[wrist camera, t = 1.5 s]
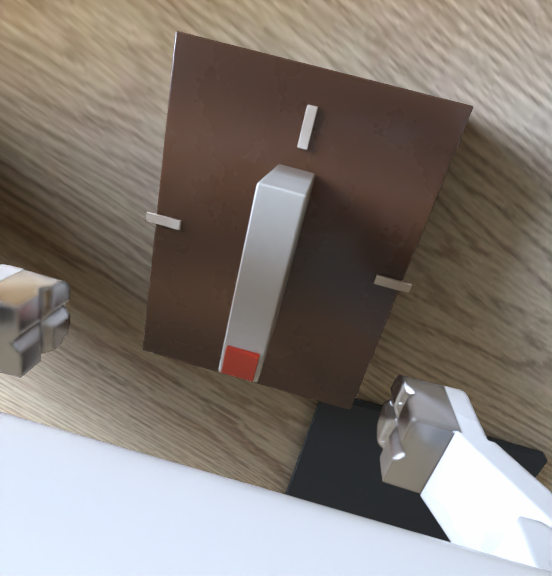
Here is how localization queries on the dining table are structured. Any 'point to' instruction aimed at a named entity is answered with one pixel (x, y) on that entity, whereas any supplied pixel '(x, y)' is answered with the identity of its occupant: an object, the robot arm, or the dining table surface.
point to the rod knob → (264, 269)
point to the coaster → (368, 470)
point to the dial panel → (319, 215)
